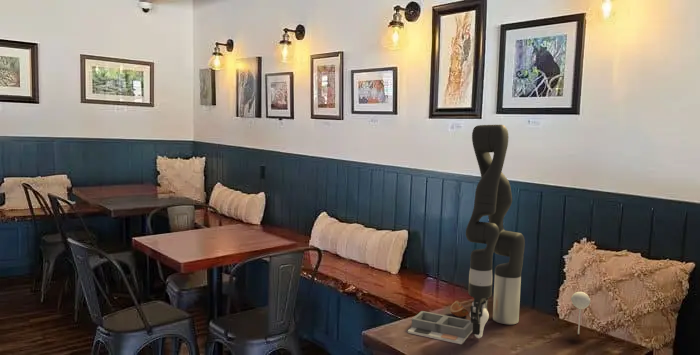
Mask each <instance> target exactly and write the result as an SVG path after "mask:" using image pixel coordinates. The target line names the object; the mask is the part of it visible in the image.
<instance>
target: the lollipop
mask: <svg viewBox="0 0 700 355" xmlns="http://www.w3.org/2000/svg"><path fill="white" fill-rule="evenodd" d="M570 300H571V303H572V305H573V306H574V307H575V308H576V309H579V310H578V323H577V325H578V328H577V335H580V328H581V313H582V310H584V309H586V308H588V307H589V305H591V298H590V296H589V295H588V294H587V293H585V292H584V291H576V292H574V293H573V294H572V296H571V298H570Z"/></svg>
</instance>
